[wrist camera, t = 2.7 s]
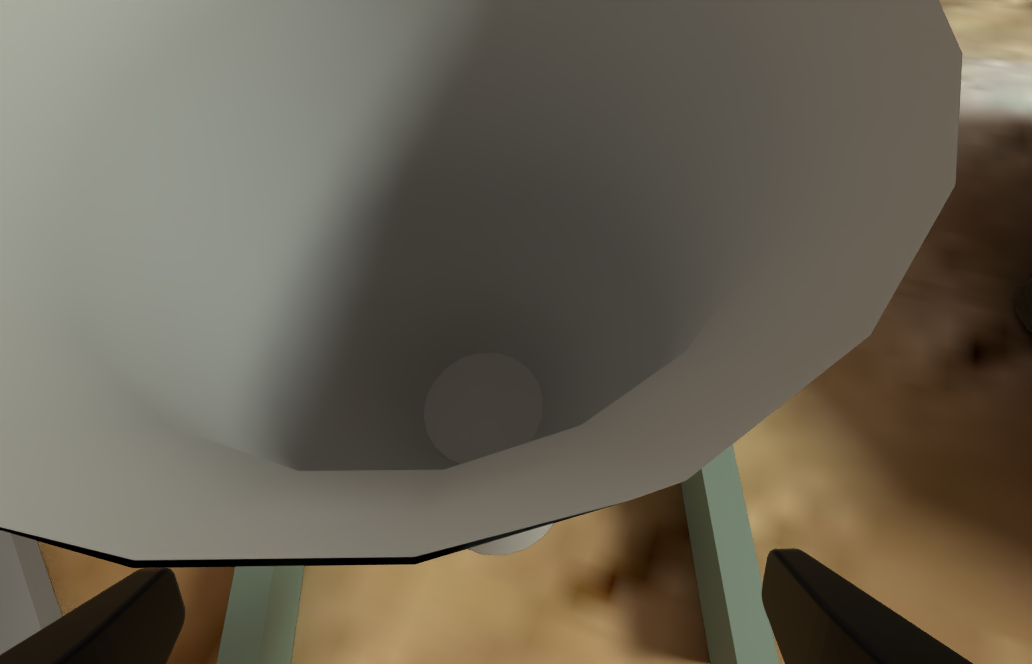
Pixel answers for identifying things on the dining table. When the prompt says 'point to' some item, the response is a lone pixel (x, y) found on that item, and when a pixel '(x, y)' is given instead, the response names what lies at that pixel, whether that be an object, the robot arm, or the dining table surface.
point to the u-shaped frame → (716, 554)
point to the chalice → (433, 256)
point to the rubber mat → (23, 591)
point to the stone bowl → (1024, 303)
